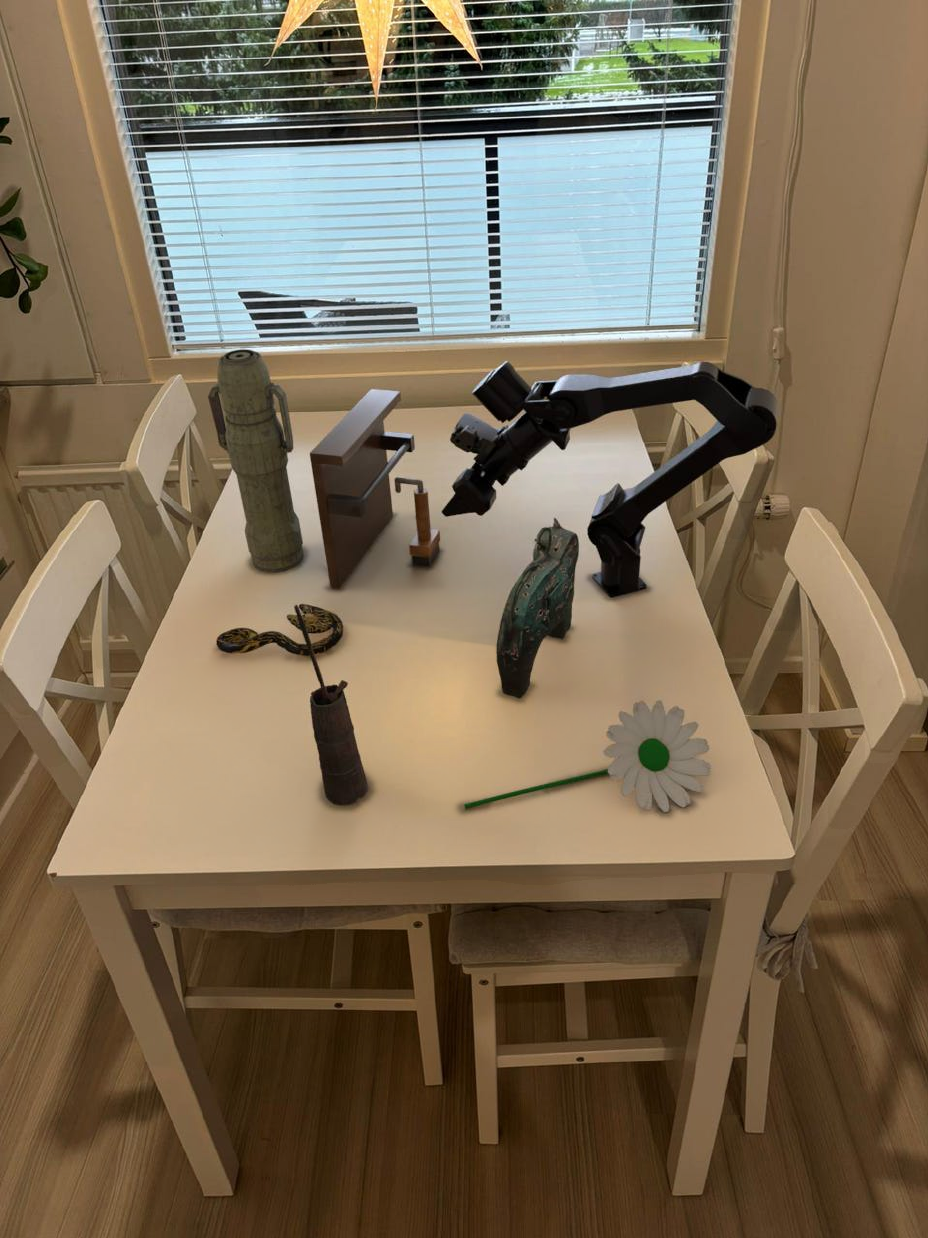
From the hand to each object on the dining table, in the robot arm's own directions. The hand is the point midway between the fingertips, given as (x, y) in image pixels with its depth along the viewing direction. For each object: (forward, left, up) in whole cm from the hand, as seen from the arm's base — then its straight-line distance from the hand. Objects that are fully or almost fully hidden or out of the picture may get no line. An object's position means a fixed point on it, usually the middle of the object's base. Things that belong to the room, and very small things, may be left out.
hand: (452, 499), depth 145 cm
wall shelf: (+8, +10, -12) cm, 18 cm away
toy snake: (-9, +31, -12) cm, 34 cm away
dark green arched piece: (-28, -2, -12) cm, 31 cm away
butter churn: (-41, +29, -12) cm, 52 cm away
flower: (-52, +3, -12) cm, 54 cm away
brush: (+4, +5, -12) cm, 13 cm away
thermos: (+14, +27, -12) cm, 32 cm away
